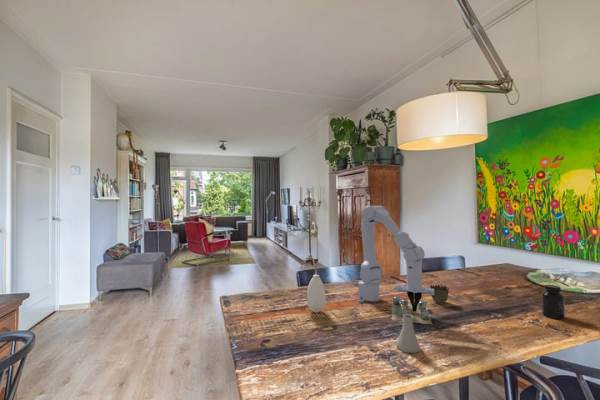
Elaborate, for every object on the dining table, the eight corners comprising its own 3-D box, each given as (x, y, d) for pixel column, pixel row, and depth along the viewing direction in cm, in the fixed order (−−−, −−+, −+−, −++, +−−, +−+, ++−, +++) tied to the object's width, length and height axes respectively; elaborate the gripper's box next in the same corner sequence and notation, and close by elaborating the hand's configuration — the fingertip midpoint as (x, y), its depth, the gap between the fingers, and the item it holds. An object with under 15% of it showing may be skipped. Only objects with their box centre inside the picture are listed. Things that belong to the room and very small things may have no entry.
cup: (451, 308, 121) (451, 290, 121) (432, 307, 123) (432, 289, 123) (445, 302, 129) (445, 284, 129) (428, 301, 130) (428, 284, 130)
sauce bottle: (327, 315, 115) (326, 270, 115) (307, 316, 114) (307, 271, 114) (324, 308, 123) (323, 266, 123) (306, 308, 122) (305, 266, 122)
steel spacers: (392, 316, 111) (392, 308, 111) (392, 302, 126) (392, 295, 126) (429, 320, 106) (429, 312, 106) (425, 305, 122) (425, 298, 122)
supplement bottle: (559, 314, 115) (559, 284, 115) (568, 320, 109) (568, 289, 109) (538, 312, 117) (538, 283, 117) (546, 318, 111) (546, 287, 111)
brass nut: (401, 313, 114) (401, 308, 114) (400, 309, 118) (400, 304, 118) (411, 314, 113) (411, 309, 113) (411, 310, 116) (411, 305, 116)
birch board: (391, 322, 108) (391, 319, 108) (391, 305, 126) (391, 302, 126) (432, 327, 103) (432, 324, 103) (426, 308, 122) (426, 305, 122)
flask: (392, 342, 93) (392, 312, 93) (413, 341, 94) (413, 311, 94) (402, 354, 86) (402, 321, 86) (425, 353, 86) (425, 320, 86)
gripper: (395, 278, 113) (395, 312, 113) (435, 281, 108) (435, 316, 108) (395, 273, 119) (395, 306, 119) (432, 276, 115) (433, 310, 115)
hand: (414, 310), depth 114 cm, fingers closed
